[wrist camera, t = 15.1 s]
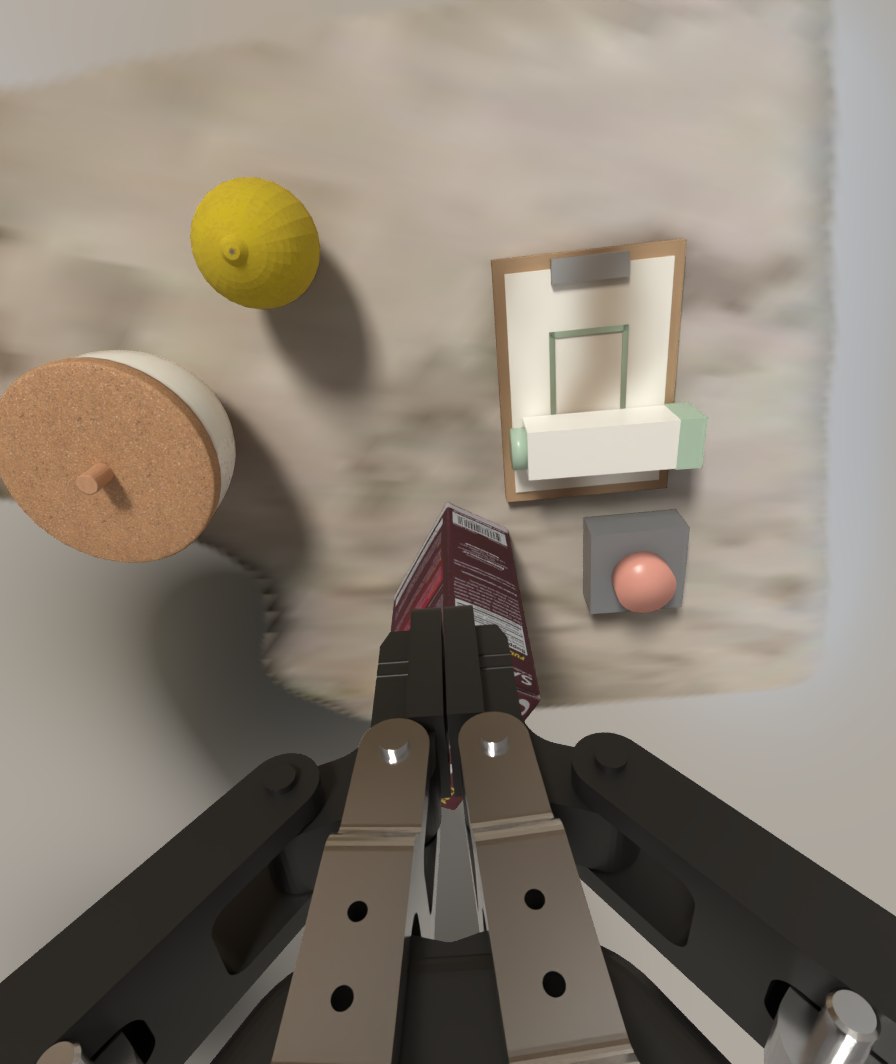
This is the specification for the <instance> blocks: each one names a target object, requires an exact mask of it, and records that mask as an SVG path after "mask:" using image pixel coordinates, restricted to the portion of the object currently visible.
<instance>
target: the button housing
mask: <svg viewBox="0 0 896 1064" xmlns="http://www.w3.org/2000/svg"><path fill="white" fill-rule="evenodd" d="M689 531H690V527H689V526H688V524H687V523H686V522H685V520H684V519H683V518H682V516H681V515H680V514H679V512H678V511H677V510H676V509H674V510H663V511H652V512H640V513H629V514H618V515H607V516H595V517H584V525H583V594H584V597H585V600H586V603H587V606H588V609H589V612H590V614H600V613H613V612H625V611H630V610H628V609H626V608H625V607H624V606H622V604H621V603H620V602H619V600H618V597H617V595H616V593H615V590H614V588H613V586H612V582H611V575H612V571H613V569H614V567H615V566H616V564H617V563H618V562H619V561H620V560H621V559H623V558H624V557H626V556H627V555H629V554H632V553H635V552H641V551H647V552H653V553H656V554H658V555H659V556H661V557H662V558H663V559H664V560H665V561H666V563H667V565H668V566H669V568H670V570H671V571H672V573H673V574H674V576H675V579H676V591H675V593H674V595H673V597H672V599H671V600H670V601H669V602H668V603H667V604H666V605H664V606H663V607H661V608H660V609H662V608H675V607H682V599H683V589H684V579H685V570H686V560H687V550H688V540H689Z"/></svg>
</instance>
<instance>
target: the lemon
mask: <svg viewBox="0 0 896 1064" xmlns="http://www.w3.org/2000/svg"><path fill="white" fill-rule="evenodd" d="M190 238H191V245H192V252H193V255H194V258H195V261H196V264H197V266H198V268H199V270H200V271H201V273H202V275H203V276H204V278H205V279H206V281H207V282H208V283H209V284H210V285H211V286H212V287H213V288H214V289H215V290H216V291H217V292H218V293H220V294H221V295H222V296H224V297H225V298H227V299H228V300H230V301H232V302H234V303H237V304H239V305H242V306H245V307H248V308H256V309H271V308H278V307H282V306H284V305H286V304H288V303H290V302H293V301H295V300H296V299H297V298H298V297H299V296H300V295H302V294H303V293H304V292H305V291H306V290H307V288H308V287H309V285H310V284H311V282H312V281H313V279H314V278H315V275H316V272H317V268H318V265H319V258H320V244H319V237H318V232H317V229H316V227H315V224H314V222H313V219H312V217H311V216H310V214H309V213H308V211H307V210H306V208H305V207H304V205H303V204H302V203H301V202H300V201H299V200H298V199H297V198H296V197H295V196H294V195H293V194H292V193H291V192H290V191H288V190H287V189H285V188H283V187H281V186H280V185H278V184H276V183H275V182H271V181H268V180H264V179H260V178H257V177H252V178H236V179H233V180H230V181H227V182H223V183H221V184H220V185H218V186H217V187H215V188H214V189H213V190H211V191H210V192H209V193H207V195H206V196H205V197H204V199H203V200H202V201H201V203H200V204H199V205H198V207H197V209H196V212H195V215H194V217H193V220H192V225H191V235H190Z"/></svg>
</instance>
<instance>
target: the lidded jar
mask: <svg viewBox="0 0 896 1064" xmlns="http://www.w3.org/2000/svg"><path fill="white" fill-rule="evenodd" d="M235 457H236V451H235V440H234V435H233V430H232V426H231V423H230V421H229V418H228V415H227V413H226V411H225V409H224V408H223V406H222V404H221V402H220V401H219V400H218V398H217V397H216V396H215V394H214V393H213V392H212V390H211V389H210V388H209V387H208V386H207V385H206V384H205V383H204V382H203V381H202V380H201V379H199V378H198V377H197V376H195V375H194V374H193V373H192V372H190V371H189V370H187V369H185V368H184V367H182V366H180V365H179V364H177V363H174V362H172V361H170V360H167V359H165V358H162V357H160V356H157V355H153V354H149V353H146V352H139V351H131V350H105V351H98V352H92V353H87V354H82V355H78V356H75V357H71V358H67V359H63V360H58V361H53V362H50V363H47V364H45V365H42V366H40V367H38V368H35V369H33V370H30V371H28V372H27V373H25V374H24V375H23V376H21V377H20V378H18V379H17V380H15V382H14V383H13V384H12V385H11V386H10V387H9V388H8V389H7V390H6V391H5V393H4V395H3V396H2V398H1V400H0V474H1V477H2V479H3V481H4V483H5V485H6V487H7V488H8V490H9V492H10V494H11V495H12V497H13V498H14V500H15V501H16V502H17V503H18V505H19V506H20V507H21V508H22V509H23V510H24V512H25V513H26V514H27V515H28V516H29V517H30V518H31V519H32V520H33V521H34V522H35V523H36V524H37V525H38V526H40V527H41V528H42V529H44V530H45V531H46V532H47V533H49V534H50V535H52V536H53V537H55V538H56V539H58V540H60V541H61V542H62V543H64V544H66V545H68V546H70V547H72V548H74V549H76V550H78V551H81V552H84V553H86V554H89V555H91V556H94V557H98V558H102V559H107V560H112V561H119V562H128V563H133V562H148V561H154V560H160V559H163V558H165V557H169V556H172V555H174V554H176V553H178V552H180V551H181V550H183V549H185V548H186V547H188V546H189V545H190V544H191V543H193V542H194V541H195V540H196V539H197V538H198V537H199V535H200V534H201V533H202V532H203V531H204V529H205V528H206V527H207V526H208V524H209V522H210V520H211V519H212V517H213V515H214V513H215V511H216V510H217V508H218V507H219V505H220V504H221V502H222V500H223V498H224V496H225V494H226V492H227V490H228V487H229V485H230V482H231V478H232V475H233V471H234V465H235Z"/></svg>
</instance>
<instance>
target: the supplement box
mask: <svg viewBox="0 0 896 1064" xmlns="http://www.w3.org/2000/svg"><path fill="white" fill-rule="evenodd" d="M462 605H473V611H474V620H475V625H489V624H497V626H498V627H499V628H500V629H501V630H502V631H503V632H504V634H505V635H506V636H507V638H508V643H509V648H510V655H511V659H512V665H513V670H514V675H515V681H516V686H517V692H518V697H519V702H520V708H521V713H522V717H523V720H524V721H525V719H526V718H527V717H528V716H529V715H530V713H531V712H532V711H533V710H534V708H535V707H536V706H537V704H538V703H539V701H540V700H541V696H540V693H539V688H538V683H537V677H536V673H535V668H534V662H533V657H532V652H531V647H530V642H529V637H528V632H527V627H526V622H525V617H524V612H523V607H522V601H521V597H520V591H519V587H518V581H517V576H516V571H515V566H514V560H513V555H512V550H511V545H510V540H509V535H508V530H507V529H506V528H504V527H501V526H499V525H497V524H495V523H492V522H490V521H488V520H486V519H483V518H481V517H479V516H477V515H474V514H472V513H470V512H468V511H466V510H464V509H462V508H459V507H457V506H454V505H453V504H451V503H447V504H446V505H445V507H444V509H443V511H442V512H441V514H440V516H439V518H438V520H437V521H436V523H435V525H434V527H433V528H432V530H431V532H430V534H429V536H428V537H427V539H426V541H425V543H424V544H423V546H422V548H421V550H420V552H419V553H418V555H417V557H416V559H415V561H414V562H413V564H412V566H411V568H410V569H409V571H408V573H407V575H406V576H405V578H404V580H403V582H402V583H401V585H400V587H399V589H398V591H397V592H396V594H395V597H394V607H393V617H392V625H391V632H393V631H407V630H410V619H411V609H422V608H436V607H441V613H442V624H443V635H444V615H443V607H448V606H462ZM444 646H445V644H444ZM449 745H450V742H449ZM450 772H451V798H441V807H444V808H447V809H451V810H455V809H456V808H457V807H458V805H459V804H460V803H461V801H462V800H463V797H455V796H454V785H453V774H452V764H451V753H450Z"/></svg>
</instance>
